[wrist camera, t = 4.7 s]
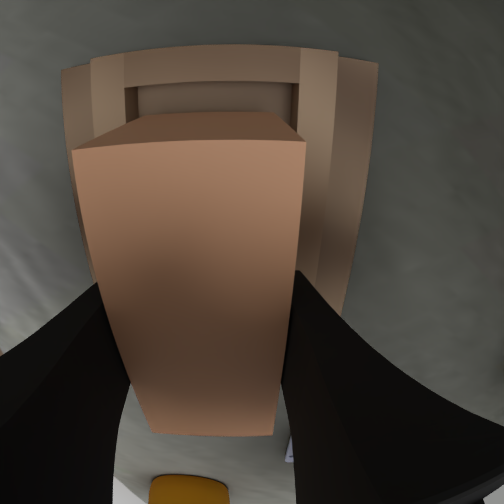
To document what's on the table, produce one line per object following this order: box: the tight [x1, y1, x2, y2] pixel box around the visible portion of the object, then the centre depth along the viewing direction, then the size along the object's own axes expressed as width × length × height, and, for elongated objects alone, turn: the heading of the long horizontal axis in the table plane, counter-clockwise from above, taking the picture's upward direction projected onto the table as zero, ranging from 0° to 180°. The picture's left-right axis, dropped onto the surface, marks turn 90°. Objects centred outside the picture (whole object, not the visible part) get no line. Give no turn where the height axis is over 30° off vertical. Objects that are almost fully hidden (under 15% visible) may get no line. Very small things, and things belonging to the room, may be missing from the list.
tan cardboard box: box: [71, 112, 306, 436], centre depth 9 cm, size 9×4×5 cm, turn 179°
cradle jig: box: [61, 44, 378, 316], centre depth 13 cm, size 14×12×2 cm
